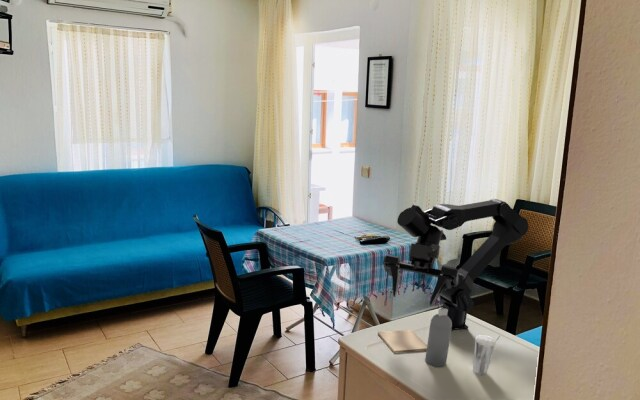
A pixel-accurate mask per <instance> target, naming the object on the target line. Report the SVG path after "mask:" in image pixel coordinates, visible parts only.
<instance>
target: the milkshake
mask: <svg viewBox="0 0 640 400" xmlns="http://www.w3.org/2000/svg"><path fill="white" fill-rule="evenodd" d="M500 337H501V335H499V336H498V337H497V339H496V340H495V339H494V338H493V337H491V336H489V335H488V334H478V335H476V337H475V338H474V350H473V351H474V353H473V362H472V363H473V364H472V371H473V373H474V374H476V375H478V376H487V374H488V372H489V367H490V364H491V359H492V356H493V353H494V350H495V347H496V346H495V345H496V343H497V341H498V340H499V339H500Z"/></svg>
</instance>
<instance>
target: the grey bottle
mask: <svg viewBox="0 0 640 400" xmlns="http://www.w3.org/2000/svg"><path fill="white" fill-rule="evenodd" d="M447 313H448V309H446V308H444V309H441V308H438V312H437V313H436V314H435V315H433V316H432V318H431V319H430V323H429V324H430V325H429V331H428V338H427V344H426V345H427V350H426V352H425V358H424V362H425V363H426V364H427V365H429V366H431V367H433V368H437V369H439V368H444V367H446V365H447V359H448V354H449V347H450V340H451V335H452V334H451V333H452V330H451V329H452V322H451V319H450V318H449V317H448V316H447Z"/></svg>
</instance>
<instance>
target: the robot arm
mask: <svg viewBox="0 0 640 400" xmlns="http://www.w3.org/2000/svg"><path fill="white" fill-rule="evenodd" d="M486 218H492V219H493V220H494V223H493V225H492V226H493V227H492V232H491V234H490V235H489V236H488V238H486V239H485V241H484V242H482V244H481V245H480V246H479V247H478V249H476V250H475V252H473V254H472V255H471V256H470V257H469V258H468V259H467V260H466V261H465V262H464V263H463V265H462V266H461V267H460V268H459V269H458V268H457V267H453V266H448V265H442V266H441V269H437V268H434V264H435V262H436V259H437V260H439V255H440V251H441V250H440V249H441V246H440V243H441V241H445V240H447V236H446V234H445V233H444V230H448V231H452V230H455V229H457V228H461V227H462V226H463V224H465V223H467V222H470V221H476V220H480V219H481V220H482V219H486ZM396 223H397V224H398V226H399V227H401V229H403V230H404V231H405V232H407V233H408V234H409V235H410V236H411V237H413V238H417V240H416V242H415V243H410V248H409V253H408V260H409V262H410V263H408V262H404V261H402V258H401V256H400V255H399V256H397V255H394V254H390V253H389V254H386V255H385V256H383V257H384V258H383V261H382V265H383V267H384V271H385V272H386V273H388V275H389V277H391V278H392V279H391V280H392V293H393V294H392V296H393V297H394V298H396V295H397V293H398V289H399V285H400V280H401V272H402V271H405V272H411V273H414V274H415V273H416V274H420V275H425V276H430V277H435V278H437V280H436V284H435V286H434V288H433V290H432V291H433V292H432V294H431V297H430V300H429V305H430V306H432V305H433V304H434V303H435V302H436V301H437V299H438V298H439V300H441V301H443V303H442V307H441V308H440V309H444V308H446V309H448V313H447V316H448V317H449V318H450V319H451V322H452V329H451V331H452V330H466V329H469V325H468V324H466V322H467V316H468V315H467V314H468V312H469V311H471V310H473V308H474V305H475V301H474V300H473V298H471V296H470V294H471V293H472V291H473V286H474V281H475V280H476V279H477V278H478V277H479V276H480V275H481V273H482V272H484V270H485V269H486V268H487V267H488V266H489V264H490V263H491V262H492V261H493V260H494V259H495V258H496V257H497V256H498V254H500V252H501V251H502V250H503V249H504V248H505V247H506V246H507V245H510V244H512V243H515V242H517V241H519V240H520V239H522V238H523V237H524V236H525V235H526V234H527V232H528V231H529V221H528V220H527V218H526V217H523V216H522V215H521V214H520V213H518V211H516V210H515V209H513V208H512V207H511V206H510V205H509V204H508V203H507V202H506V201H503V200H500V199H496V198H492V199H490V200H485V201H479V202H473V203H467V204H462V205H456V204H448V203H437V204H434V205H433V207H432V208H430V209H427V210H422V208H421V207H420V206H419V205H417V204H412V205H411V207H408V208H405V209H404V210H403V211H401V212H400V213H399V215H398V216H397V221H396ZM440 228H442V229H440ZM443 229H444V230H443Z"/></svg>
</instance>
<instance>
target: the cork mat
mask: <svg viewBox="0 0 640 400" xmlns="http://www.w3.org/2000/svg"><path fill="white" fill-rule="evenodd" d="M377 335H378V336H379V337H380V338H381V340H382V341H383V342H384V343H385V345H387V347H388V348H389V349H390V350H391V351H392V353H393V354H397V353H398V354H400V353H402V354H403V353H411V352H412V353H413V352H423V351H426V350H427V344H426V342H424V341H423V339H421V337H419V335H418V334H416V332H414V330H413V329H403V330H402V329H401V330H389V331H388V330H387V331H377Z"/></svg>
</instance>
